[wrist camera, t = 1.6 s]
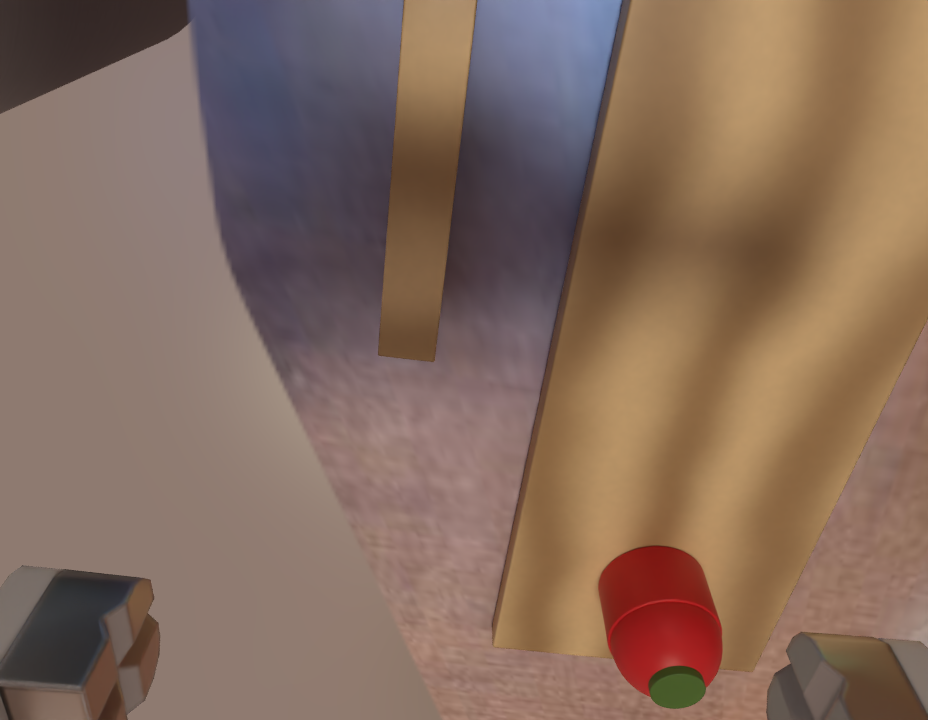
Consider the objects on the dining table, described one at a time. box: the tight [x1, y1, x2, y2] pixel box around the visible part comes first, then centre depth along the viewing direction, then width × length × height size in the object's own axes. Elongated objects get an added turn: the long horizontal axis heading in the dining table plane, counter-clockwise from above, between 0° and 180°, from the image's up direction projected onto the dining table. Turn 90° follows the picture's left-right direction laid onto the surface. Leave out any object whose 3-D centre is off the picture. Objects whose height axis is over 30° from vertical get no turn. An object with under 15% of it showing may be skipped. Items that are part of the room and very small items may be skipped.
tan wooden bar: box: [378, 0, 477, 362], centre depth 21 cm, size 18×5×3 cm, turn 173°
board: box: [492, 0, 928, 672], centre depth 24 cm, size 12×42×1 cm, turn 173°
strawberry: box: [598, 546, 723, 709], centre depth 30 cm, size 4×4×5 cm
